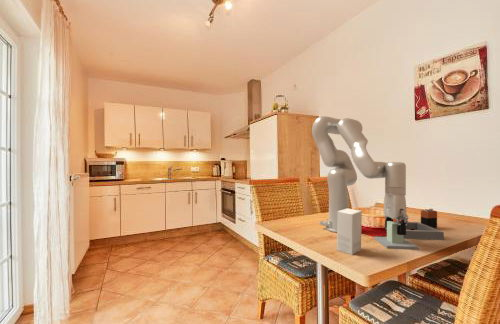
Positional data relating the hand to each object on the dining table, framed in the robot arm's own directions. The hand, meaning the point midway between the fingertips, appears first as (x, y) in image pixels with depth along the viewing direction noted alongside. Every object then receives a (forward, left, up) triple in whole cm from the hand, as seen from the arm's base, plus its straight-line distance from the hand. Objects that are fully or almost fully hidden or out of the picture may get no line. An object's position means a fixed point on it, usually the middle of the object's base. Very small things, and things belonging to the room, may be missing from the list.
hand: (394, 231), depth 100 cm
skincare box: (-22, -10, -5) cm, 25 cm away
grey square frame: (+16, +17, -5) cm, 24 cm away
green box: (0, 0, -4) cm, 4 cm away
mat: (0, 0, -5) cm, 5 cm away
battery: (+32, +29, -5) cm, 44 cm away
